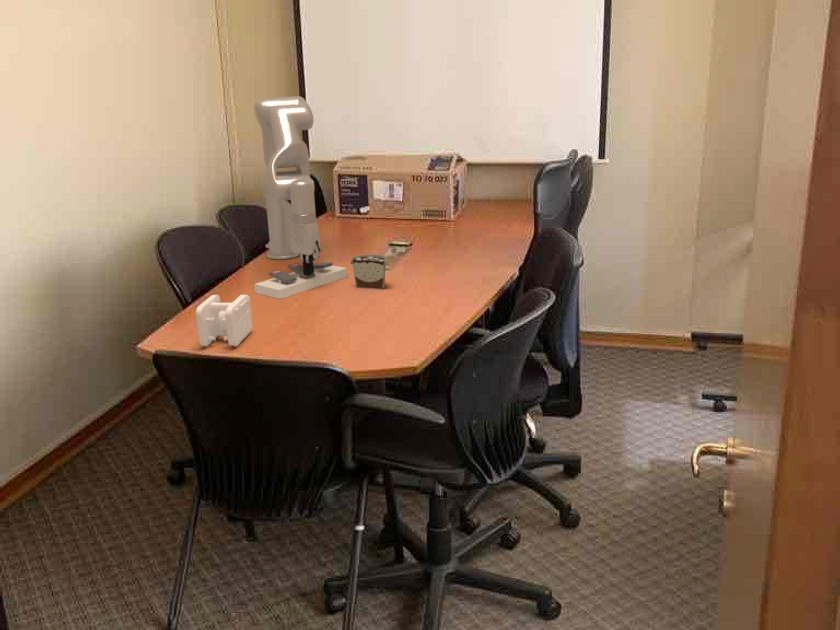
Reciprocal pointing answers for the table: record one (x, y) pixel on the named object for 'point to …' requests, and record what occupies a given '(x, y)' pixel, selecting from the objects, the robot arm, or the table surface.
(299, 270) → the rocker
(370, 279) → the food container
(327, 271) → the rocker switch panel
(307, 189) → the robot arm
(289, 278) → the rocker
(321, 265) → the rocker
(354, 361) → the table surface
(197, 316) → the cable organizer
